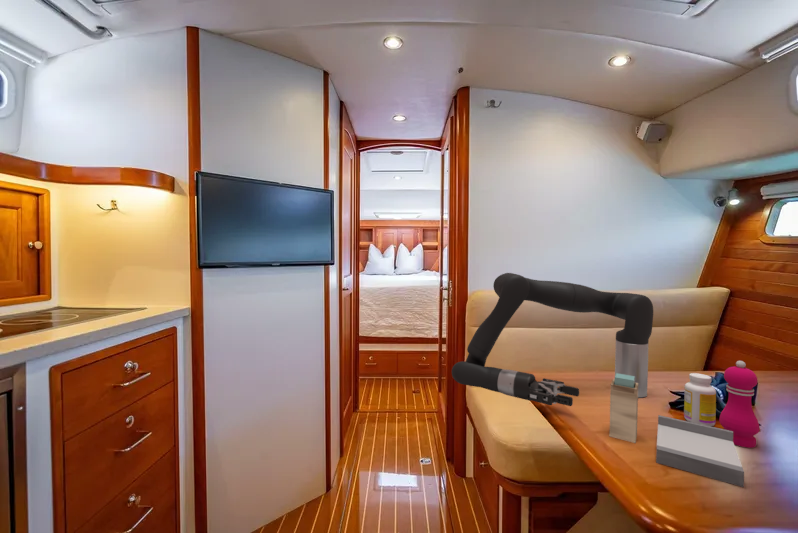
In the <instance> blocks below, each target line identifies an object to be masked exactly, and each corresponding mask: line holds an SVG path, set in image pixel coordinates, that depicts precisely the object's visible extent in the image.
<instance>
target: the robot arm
mask: <svg viewBox="0 0 798 533" xmlns="http://www.w3.org/2000/svg"><path fill="white" fill-rule="evenodd" d="M493 290H494V292H495V294H496V295H497V297H498V300H497V302H496V303H495V306H494V308H493V310H492V311H491V313H490V314H488V316H487V317H486V318H485V319H484V321H483V322H482V323H481V324H480V325H479V326H478V328H477V329H476V331H475V332H474V335H472V337H471V340H470V342H469V343H468V346H467V347H466V351H467V357H466V360H465V361H458V362H456V363H455V364H454V365H453V366H452V368H451V376H452V378H453V380H454V381H455V382H457V383H458V384H460V385H465V386H469V387H477V388H483V389H485V390H489V391H490V392H491V391H492V392H496V393H500V394H503V395H506V396H508V397H513V398H517V399H521V400H526V401H532V402H534V403H535V402H536V403H540V404H544V405H547V406H552V405H553V404H554V405H556V404H559V405H563V406H567V407H572V406H573V402H574V400H573V397H572V396H574V397H579V396H580V388H578V387H576V386H575V387H574V386H570V385H566V384H565V383H564V381H559V380H554V379H550V378H542V380H541V381H540V380H539V381H537V380H536V377H535V376H536V375H534V374H533V373H529V372H528V373H527V372H523V371H520V370H519V371H517V370H513V369H505V368H504V369H503V368H500V367H494V366H486V362H487V358H488V357H489V355H490V353H491V352H492V350H493V348H494V346H495V345H496V342H497V340H498V339H499V337H500V335H501V334H502V332H503V330H504V329H505V327H506V326H507V324H508V323H509V322H510V320H511V319H512V317H513V316H514V314H515V313H516V312H517V310H518V309H519V308H520V306H521V305H523V303H524V302H525V301H526V302H527V301H528V302H533V303H538V304H540V305H544V306H547V307H550V308H554V309H557V310H562V311H568V312H573V313H598V314H599V313H600V314H604V315H608V316H611V317H615V318H618V319H620V320H621V319H622V320H624V321H625V322H624V328H623V329H622V330H621V329H620V330H618V331H616V333H615V352H614V353H615V357H614V358H615V359H614V367H615V368H614V376H615V375H616V373H618V374H624V375H630V376H635V383H638V398H646V397H647V396H648V380H649V379H648V377H649V371H648V370H649V340H650V337H651V335H652V333H653V323H654V322H653V321H654V306H653V303H652V300H651V299H650V297H648V296H646V295H645V294H644V295H643V294H640V293H639V294H638V293H632V292H631V293H630V292H614V291H613V292H610V291H601V290H598V289H595V288H592V287H589V286H587V285H583V284H577V283H571V282H564V281H553V280H538V279H533V278H528V277H524V276H522V275H520V274H516V273H512V272H506V273H502V274H500V275H498V276H497V277H496V278H495V280H494V281H493ZM563 394H565V395H563ZM567 395H569V396H567Z"/></svg>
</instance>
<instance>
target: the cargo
mask: <svg viewBox="0 0 798 533" xmlns="http://www.w3.org/2000/svg"><path fill="white" fill-rule="evenodd" d="M614 379H615V384H614V385H619V386H625V387H630V388H635V376H630V375H624V374H618V373H616V375H615V374H614Z"/></svg>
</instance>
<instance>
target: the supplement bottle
mask: <svg viewBox="0 0 798 533" xmlns="http://www.w3.org/2000/svg"><path fill="white" fill-rule="evenodd" d="M688 376H689V382H686V383H685V384H684V400H683V401H684V402H683V403H684V405H683V406H684V407H683V416H684V419H685V421H688V422H693V423H697V424H702V425H706V426H711V427H715V425H716V417H717V416H716V412H717V403H716V402H717V390H716V389H715V387H714V386H712V385H711V383H712V377H711V376H709V375H707V374H703V373H698V372H697V373H696V372H692V373H689V375H688Z"/></svg>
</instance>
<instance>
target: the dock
mask: <svg viewBox="0 0 798 533" xmlns="http://www.w3.org/2000/svg"><path fill="white" fill-rule="evenodd" d="M656 434H657V436H656V453H655V454H656V456H655V458H656V459H655V462H656V464H660V465H663V466H667V467H671V468H674V469H678V470H682V471H685V472H688V473H693V474H695V475H698V476H699V475H700V476H702V477H706V478H708V479H713V480H716V481H720V482H723V483H728V484H731V485H733V486H738V487H742V488H744V487H745V486H744V485H745V470H744V467H743V465H742V463H741V459H740V458H739V454H738V451H737V448H736V447H735V446H736V445H734V443H733V431H729V430H725V429H724V428H719V427H715V426H706V425H702V424H697V423H693V422H689V421H687V420H683V419H677V418H673V417H669V416H665V415H659V414H658V416H657V433H656Z"/></svg>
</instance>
